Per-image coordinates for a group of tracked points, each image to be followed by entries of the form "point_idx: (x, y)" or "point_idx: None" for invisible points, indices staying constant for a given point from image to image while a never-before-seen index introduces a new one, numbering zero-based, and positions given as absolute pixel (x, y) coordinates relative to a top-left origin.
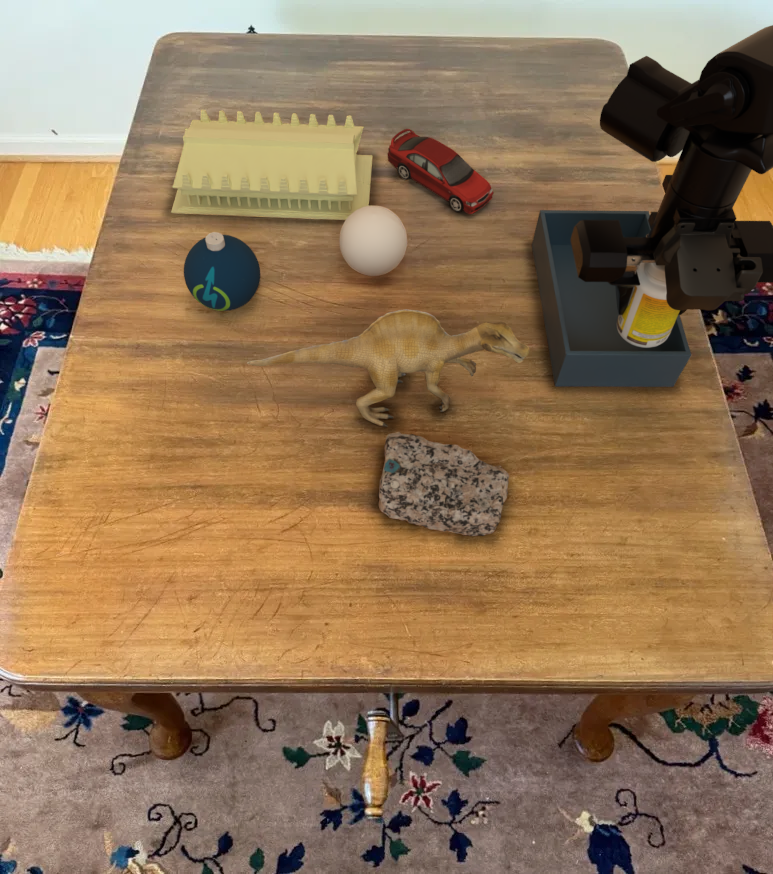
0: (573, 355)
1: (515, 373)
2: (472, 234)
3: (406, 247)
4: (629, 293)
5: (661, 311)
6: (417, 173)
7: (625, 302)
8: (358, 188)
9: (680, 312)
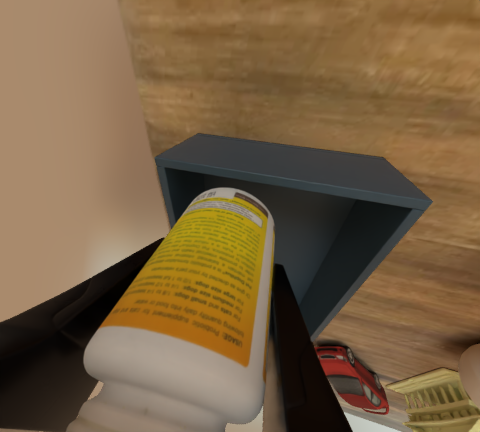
0: (410, 196)
1: (434, 192)
2: (346, 332)
3: (477, 373)
4: (287, 358)
5: (194, 275)
6: (372, 383)
7: (284, 308)
8: (426, 384)
9: (160, 243)
